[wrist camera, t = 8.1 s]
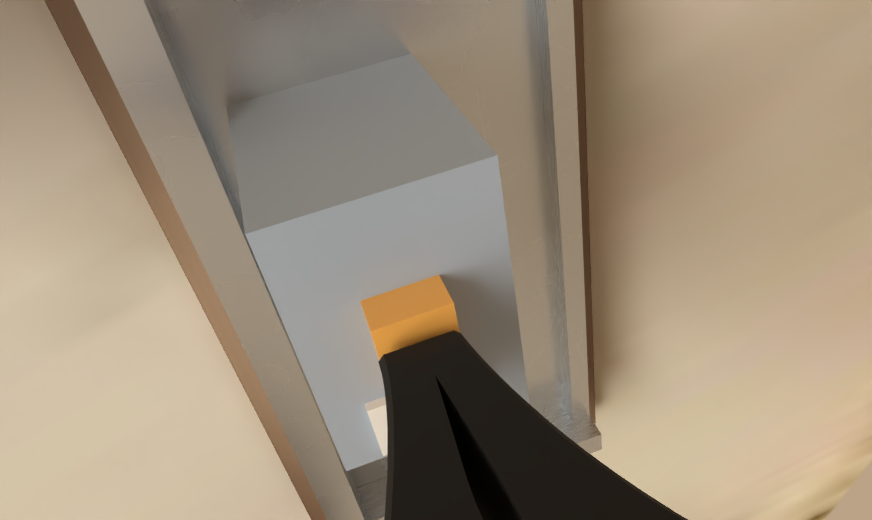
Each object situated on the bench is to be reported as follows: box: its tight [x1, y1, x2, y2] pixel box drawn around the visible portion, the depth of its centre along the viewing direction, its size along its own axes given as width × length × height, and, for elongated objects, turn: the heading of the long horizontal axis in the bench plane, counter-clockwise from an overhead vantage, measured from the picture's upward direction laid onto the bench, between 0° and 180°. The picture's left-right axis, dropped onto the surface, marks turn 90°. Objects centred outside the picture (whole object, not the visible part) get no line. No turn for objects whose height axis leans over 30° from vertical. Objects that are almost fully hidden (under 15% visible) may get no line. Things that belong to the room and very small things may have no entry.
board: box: [45, 0, 595, 520], centre depth 17 cm, size 11×26×1 cm, turn 9°
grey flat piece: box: [74, 0, 602, 520], centre depth 16 cm, size 9×22×2 cm, turn 9°
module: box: [226, 54, 529, 471], centre depth 14 cm, size 4×6×6 cm, turn 9°
